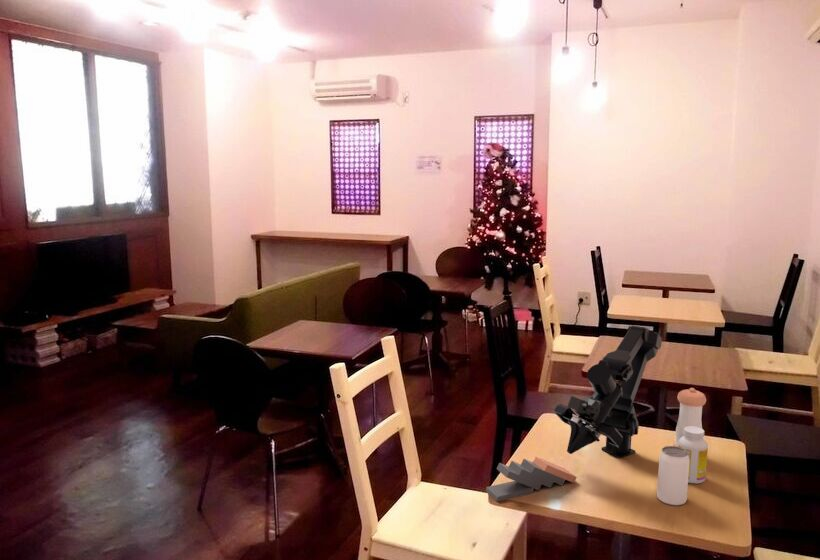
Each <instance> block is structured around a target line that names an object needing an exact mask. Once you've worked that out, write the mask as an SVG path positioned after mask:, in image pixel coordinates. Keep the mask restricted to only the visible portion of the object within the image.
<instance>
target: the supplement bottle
mask: <svg viewBox="0 0 820 560" xmlns="http://www.w3.org/2000/svg"><path fill="white" fill-rule="evenodd" d="M683 433H684V436H683V437H681V438H680V439H679V444H678V447H680V448H683V449H685V450H686V451H687V452H688V457H689V476H688V484H697V485H698V484H702V483H704V482H705V481H706V476H707V465H708V464H707V463H708V462H707V461H708V450H709V449H708V447H709V445H708V442H707V441H706V440H705V439H704V437H705V430H704V429H703V428H702V429H701V428H699V427H694V426H687V427H685V428H684V432H683Z"/></svg>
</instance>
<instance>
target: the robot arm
mask: <svg viewBox="0 0 820 560" xmlns="http://www.w3.org/2000/svg"><path fill="white" fill-rule="evenodd" d="M626 331H627V332H626V334H625V336H624V337H623V338H622V340H621V341H620V344H619V345H618V346H617V347H616V349H615V350H613V351H610V352H608V353H606V354H605V356H604V357H603V358H602V359H600V360H599V361H598V363H596V364H594V365H592V366H591V367H590V368H589V369H588V370H587V373H586V378H587V379H588V381H589V383H590V385H591V387H592V390H593V393H592V395H591V396H589V395H587V396H586V397H585V398H584V399H582V398H580V397H578V396H575V395H570V397H569V401H568V402H567V406H566V405H564V404H562V403H560V404H557V405H556V406H555V407H554V409H553V411H552V412H553V413H554V414H555V415H556V417H558V418H559V419H560V420H561V421H562V422H563V423H564V424H566V425H569V426H570V435H569V441H568V444H567V449H566V452H567V453H568V454H570V455H573V454H574V453H575V452H577V451H579V450H581V449H583V448H585V447H586V446H589V445H590V444H592V443H595V442H598V443H599V442H600V441H601V440H600V437H601V436H604V437H605V446H602V447H601V450H602V451H604V452H606V453H608V454H610V455H612V456H615V457H617V458H620V459H621V458H624V457H627V456H630V455H633V454H635V453H636V450H635V449H633V448H632V437H633V436H636V435H638V434H639V428H640V427H639V425H640V423H639V421H638V418H637V415H636V411H635V407H634V400H635V398H636V394H637V391H638V390H639V389H638V388H639V386H640V383H641V380H642V378H643V375H644V372H645V369H646V366H647V364H648V362H649V361H651V360H652V359H654V358H655V357H656V356H657V354H658V351H659V350H660V349H661V347H662V343H663V342H662V341H663V339H662V336H660V334H659V333H658V332H655V331H652V330H650V329H649V328H647V327H645V326H639V325H629V326H628V327H627V330H626ZM618 382H620V384H619V383H618ZM573 410H574V411H573Z"/></svg>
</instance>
